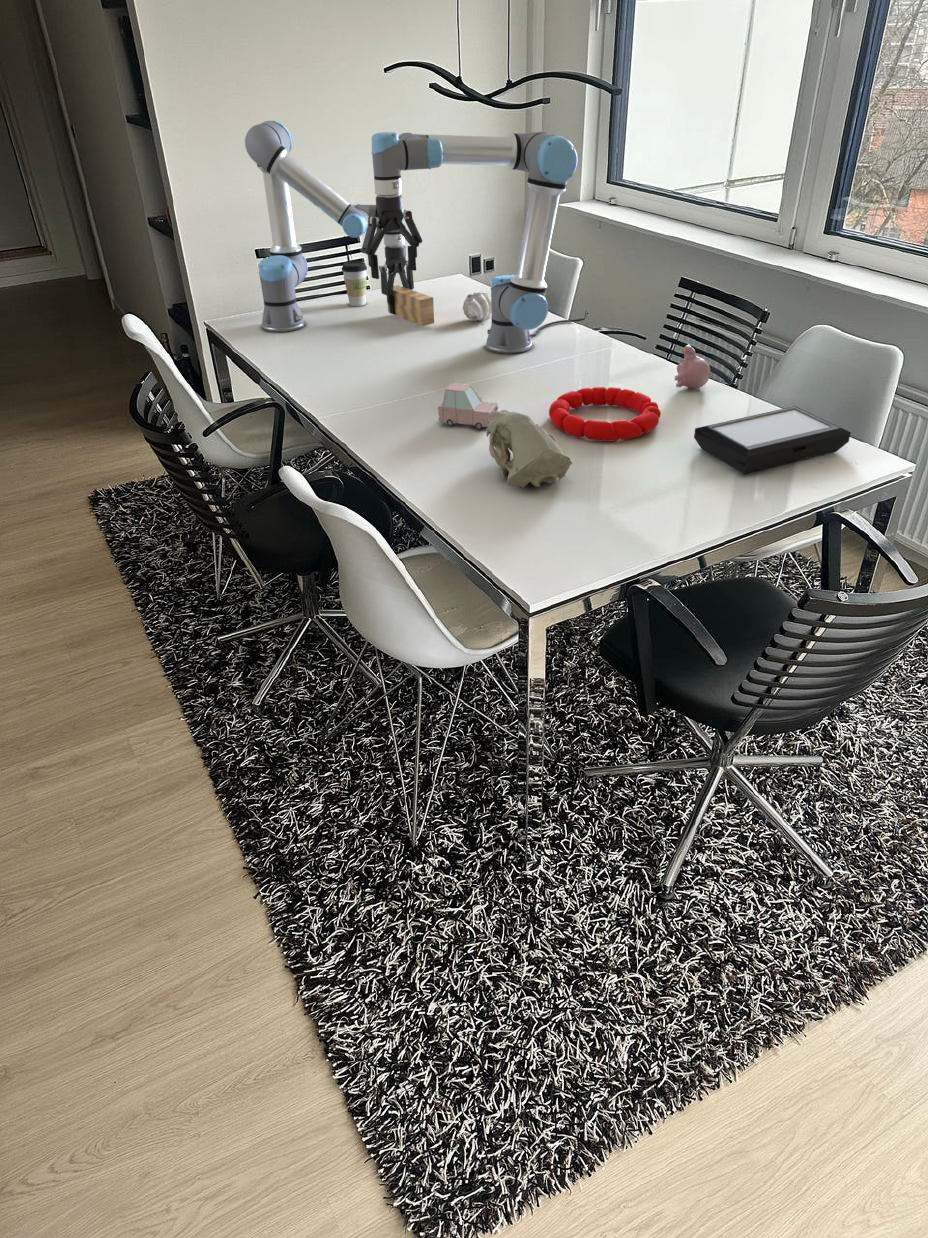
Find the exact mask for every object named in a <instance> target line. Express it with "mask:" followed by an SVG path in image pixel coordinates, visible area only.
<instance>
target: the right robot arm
mask: <svg viewBox="0 0 928 1238" xmlns="http://www.w3.org/2000/svg"><path fill="white" fill-rule="evenodd" d="M371 158H372V167H373V168H372V169H373V178H374V179H373V183H374V185H373V186H374V194H375V195H376V196H375V205H376V209H377V212H378V216H377V217H371V216H369V217H368V228H367V231H366V232H365V234H364V239H363V242H362V246H361V250H360V252H361V253H362V254H365V255H367V262H368V263H367V264H368V266H369V267H370V275H371V278H372V279H375V280H380V270H379V260H378V259H379V258H378V254H376V252H377V250H378V248H379V246H380V244H381V243H382V240H384V235H385V234H386V233H387V232H391V231H393V230H395V231H396V230H399V232H400V233H401V234H402V235H403V237H404V238H405V241H406V242H407V243H408V245H407V246H406V247H407V261H408V264H409V269H410V270H413V272H415V271H417V259H416V258H418V247H419V246H420V244H422V243H423V239H422V236H421V234H420V232H419V230H418V227H417V226H416V223H415V221H414V219H413V212H412V211H411V210H408V209H404V203H403V196H402V195H401V194H402V192H403V188H402V187H403V186H402V172H403V171H412V170H431V169H438V168H440V167H441V166H442V165H465V166H466V165H468V166H503V167H504V166H505V167H506V168H507V169H508V170H510V171H511V170H515V171H521V172H525V173H527V174H528V176H527V181H526V185H528V187H529V189H530V194H529V200H528V205H527V211H526V217H525V223H524V229H523V234H522V240H521V244H520V245H521V246H520V251H519V257H518V262H517V269H516V273H515V274H503V275H498V276H494V277H493V278H492V279H491V283H490V296H491V316H490V317H491V325H490V327H489V329H487V330H486V334H487V338H486V344H485V345H486V347H485V348H486V349H487V350H488V351H489V352H492V353H496V354H503V355H512V354H513V355H514V354H520V353H525V352H528V351H529V350H531V349H532V346H533V345H532V344H533V341H532V337H535V336H537V335H538V333H539V332H540V330H542V329H544V328H546V327H548V326H552V325H557V324H562V323H574V322H575V323H576V322H581V321H584V320H586V318H587V317H588V315H589V314H590V313H589V311H588V310H585V313H584V317H581V318H575V319H564V320H556V321H552V322H548V323H546V324H543V323H544V322H545V320H546V318H547V317H548V314H549V304H548V301H547V299H546V294H547V290H548V284H547V283H546V281H545V279H544V278H545V273H546V268H547V262H548V257H549V252H550V247H551V242H552V236H553V232H554V227H555V222H556V215H557V210H558V207H559V201H560V196H561V195H562V194H563V193H565V192H566V190H567V185H568V181H569V180H570V179H571V178H572V177H573V176H574V174H575V172H576V170H577V167H578V153H577V150H576V148H575V146H574V145H573V143H572V142H571V141H570V140H569V139H567V138H566V137H564V136H562V135H559V134H553V133H549V132H546V131H533V132H524V133H523V132H522V133H521V132H519V133H515V132H513V133H512V132H511V133H509V134H508V135H507V136H488V135H487V136H482V135H454V134H453V135H452V134H422V133H421V134H420V133H419V134H418V133H411V132H402V133H400V134H398V132H395V131H382V132H376V133H374V134H373V135H372V136H371ZM402 209H403V212H402ZM403 218H404V224H403V223H402V220H403ZM378 223H379V225H378ZM405 224H406V225H405ZM377 225H378V227H377V228H376V226H377ZM406 226H407V227H406ZM407 228H408V229H407ZM539 326H540V327H539ZM534 329H537V330H536V331H535V332H534V333H532V334H531V333H530V331H531V330H534Z"/></svg>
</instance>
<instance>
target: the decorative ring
mask: <svg viewBox="0 0 928 1238" xmlns="http://www.w3.org/2000/svg"><path fill="white" fill-rule="evenodd" d="M583 405H584V406H586V407H587V406H591V405H593V406H604V405H608V406H614V407H619V408H624V409H628V410H632V411H635V412H636V413H638V414H639V415H637V416H635V417H632V418H631V419H630V420H625V419H624V420H623V419H622V420H614V421H611V422H609V421H607V420H606V421H605V420H593V419H587V420H586V421H585V419H584V418H582V417H579V416H577V415H573V414H571V413H570V410H571V409H579V408H581V407H582V406H583ZM548 416H549V419H550V422H551V423H552V425H553V426H554V427H555V428H556V429H558V430H559V431H561V432H563V433H567V434H568V435H569V436H573V437H576V438H580V439H582V438H583V437H585V438H586V439H587V440H591V441H601V442H602V441H603V442H608V441H609V442H610V441H611V442H612V441H615V442H616V441H618V440H630V439H634V438H638V437H641V436H642V434H647V433H650V432H651V431H653V430H654V429H655V428H656V427H657V426H658V424H659V422H660V421H659V420H660V417H661V410H660V408H659V405H658V403H657V402H656V401H652V399H651V397H649V396H648V395H646V394H644V393H642V392H635V391H634V390H632V389H628V388H624V389H622V388H620V387H613V386H612V387H611V386H610V387H608V388H606V387H604V386H594V387H585V388H584V387H583V388H580V389H578V390H571V391H568V392H565V393H563V394H561V395H560V396H558V397H557V398H556V400H554V401H552V403H551V404H550V407H549V409H548Z"/></svg>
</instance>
